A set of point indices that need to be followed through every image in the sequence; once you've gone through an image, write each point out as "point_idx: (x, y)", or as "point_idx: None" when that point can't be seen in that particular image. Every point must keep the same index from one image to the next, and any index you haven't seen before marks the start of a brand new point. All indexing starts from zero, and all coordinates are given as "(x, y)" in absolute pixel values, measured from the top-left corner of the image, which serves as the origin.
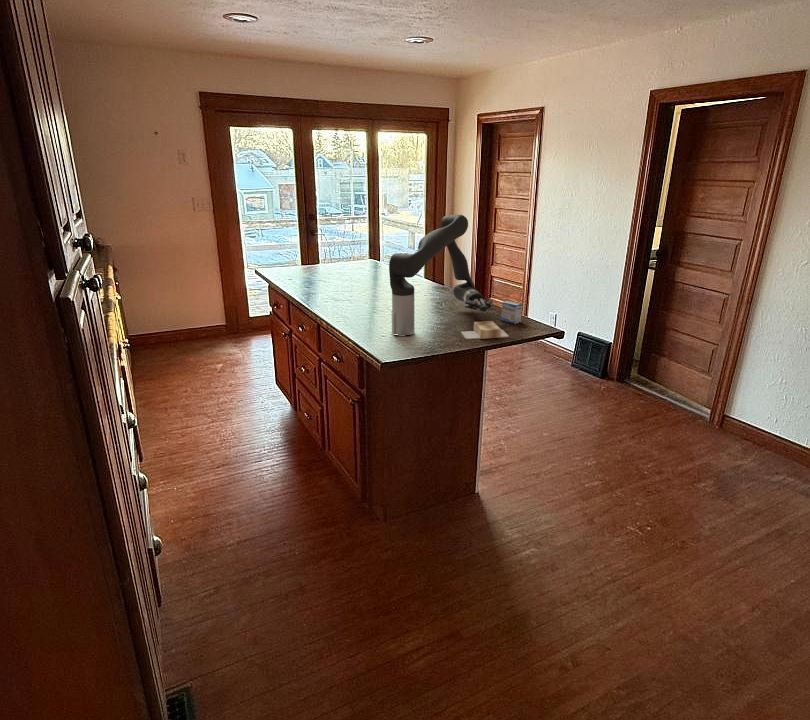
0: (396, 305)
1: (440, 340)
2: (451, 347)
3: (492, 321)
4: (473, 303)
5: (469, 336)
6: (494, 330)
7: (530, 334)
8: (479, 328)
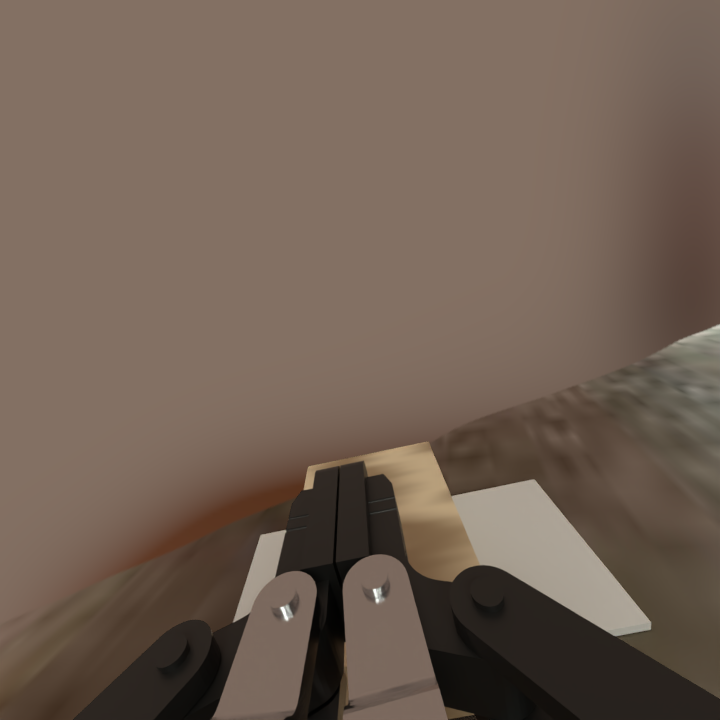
0: None
1: (710, 456)
2: (578, 404)
3: None
4: (551, 632)
5: (520, 510)
6: (349, 461)
7: (99, 596)
8: (442, 477)
